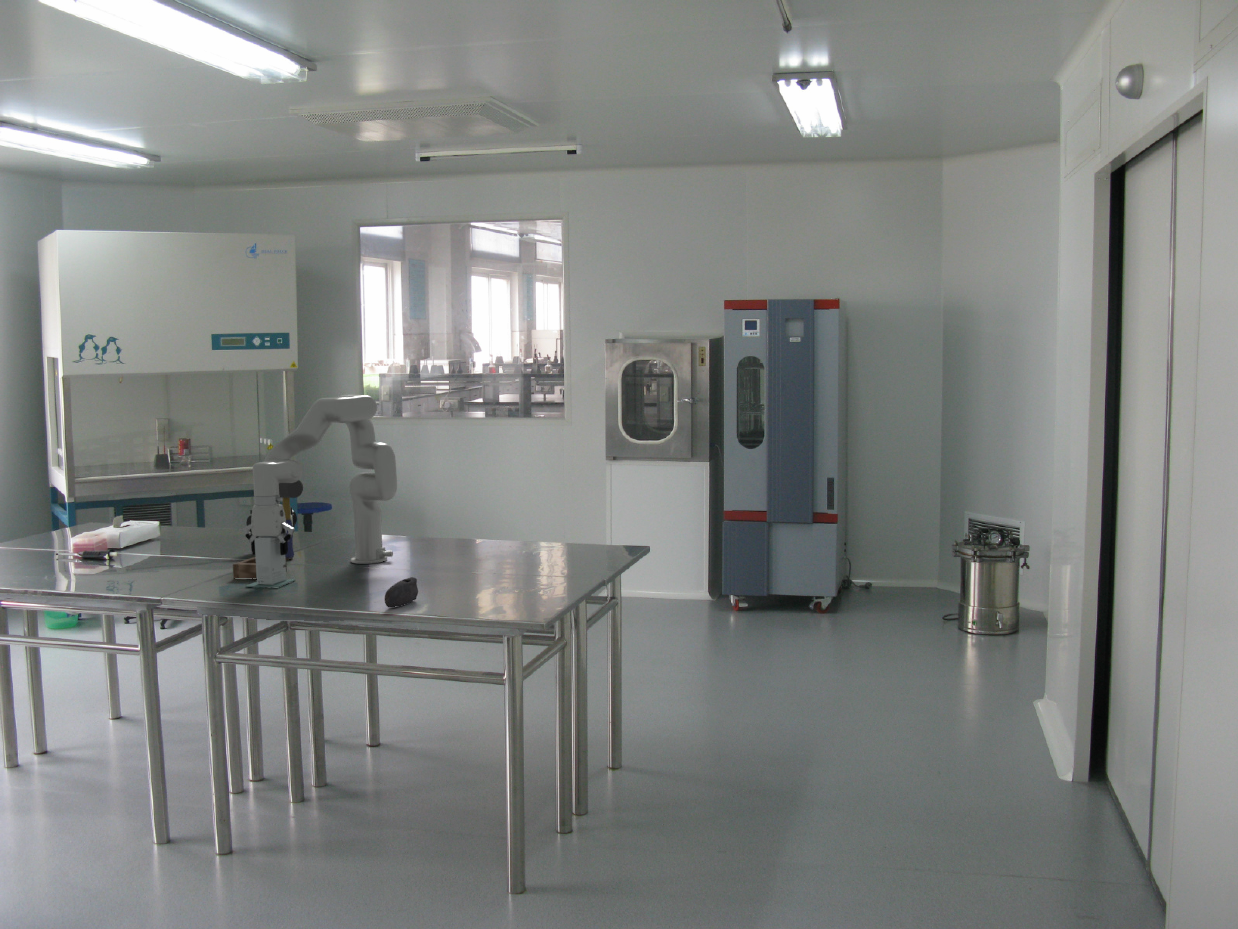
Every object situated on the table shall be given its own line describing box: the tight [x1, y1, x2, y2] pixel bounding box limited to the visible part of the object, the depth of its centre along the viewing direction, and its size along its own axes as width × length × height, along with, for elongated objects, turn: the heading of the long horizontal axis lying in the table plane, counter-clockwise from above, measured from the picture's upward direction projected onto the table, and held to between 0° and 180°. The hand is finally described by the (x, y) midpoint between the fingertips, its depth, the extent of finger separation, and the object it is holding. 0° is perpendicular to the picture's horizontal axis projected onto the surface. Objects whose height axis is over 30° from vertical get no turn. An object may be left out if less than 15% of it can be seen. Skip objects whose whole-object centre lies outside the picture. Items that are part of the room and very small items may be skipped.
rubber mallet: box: [279, 479, 304, 561], centre depth 358 cm, size 12×8×30 cm, turn 55°
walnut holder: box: [232, 556, 288, 579], centre depth 331 cm, size 12×14×5 cm
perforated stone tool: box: [384, 576, 419, 608], centre depth 285 cm, size 15×5×7 cm, turn 157°
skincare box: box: [254, 537, 287, 585], centre depth 316 cm, size 8×6×15 cm
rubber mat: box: [245, 578, 296, 588], centre depth 317 cm, size 11×11×1 cm
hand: (269, 554), depth 316 cm, fingers open, 9 cm apart
